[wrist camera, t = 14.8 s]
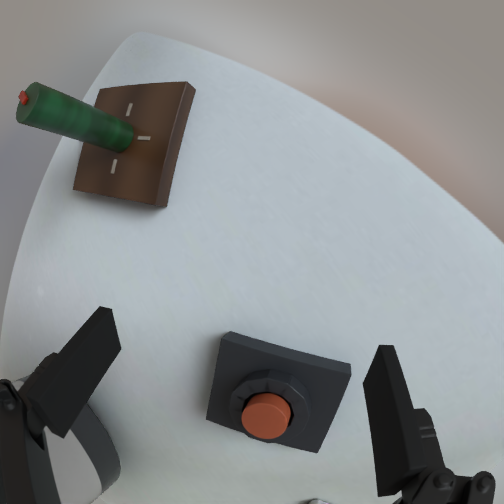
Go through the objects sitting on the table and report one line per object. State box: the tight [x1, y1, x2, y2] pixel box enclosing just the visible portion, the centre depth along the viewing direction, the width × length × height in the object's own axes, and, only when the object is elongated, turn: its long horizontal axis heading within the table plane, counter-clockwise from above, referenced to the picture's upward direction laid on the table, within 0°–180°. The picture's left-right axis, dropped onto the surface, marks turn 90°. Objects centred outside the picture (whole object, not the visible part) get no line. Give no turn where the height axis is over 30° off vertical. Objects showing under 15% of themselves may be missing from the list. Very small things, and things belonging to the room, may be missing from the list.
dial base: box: [73, 82, 196, 207], centre depth 27 cm, size 12×12×2 cm
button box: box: [206, 331, 351, 453], centre depth 23 cm, size 11×9×4 cm
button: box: [241, 393, 291, 439], centre depth 21 cm, size 4×4×2 cm
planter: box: [11, 375, 121, 504], centre depth 25 cm, size 19×19×18 cm
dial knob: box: [16, 82, 134, 153], centre depth 20 cm, size 3×3×12 cm
